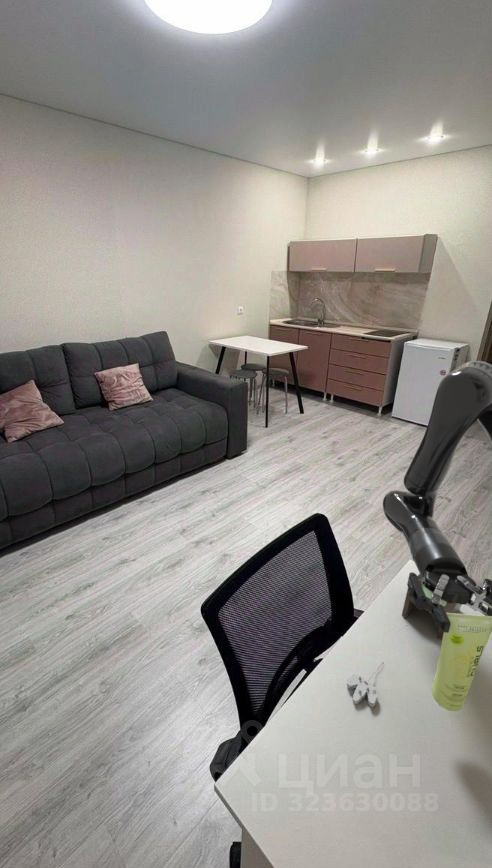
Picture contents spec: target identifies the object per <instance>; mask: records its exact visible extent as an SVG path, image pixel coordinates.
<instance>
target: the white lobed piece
mask: <svg viewBox="0 0 492 868" xmlns="http://www.w3.org/2000/svg"><path fill="white" fill-rule="evenodd" d="M383 664H384V662H383V661H382V662H381V663H380V664H379V666H378V667H377V669H376V671H375V672H373V673H372V674H371V675H370V677H369V678H368V679H366V678H365V677H363V676H361V675H359V674H352V675H351V676H350V677H349V678H348V679H347V680H346V686H347V688H348V689H355V690H354V693H353V695H352V702H353V704H354V705H358V704H360V702H361V701H362V700H364V698H365V697H366V696H367V704H368V706H369V707H375V705H376V702H377V700H378V694H379V693H378V690H377V688H376V687H375V686H374V685H373V684H372V682H370V680H371V678H372V677H373V675H374V674H376V673H377V672H378V671H379V669H380V668H381V666H382V665H383Z"/></svg>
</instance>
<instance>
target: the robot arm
mask: <svg viewBox="0 0 492 868" xmlns="http://www.w3.org/2000/svg"><path fill="white" fill-rule="evenodd" d="M476 421H477V422H478V423H479V425H480V426H481V427H482V429H483V431H484V432H485V433H486V435H487V438H488V440H489V442H490V444H491V445H492V364H491V363H488V362H486V361H482V360H470V361H467V362H464V363H462V364H461V365H459V366H458V367H456V368H455V369H453V370H452V371H451V372H448V374H446V375H445V376H444V377H443V378H442V379H441V380H440V382H439V384H438V386H437V389H436V393H435V396H434V400H433V404H432V409H431V412H430V417H429V420H428V423H427V426H426V429H425V432H424V434H423V437H422V439H421V441H420V443H419V445H418V448H417V449H416V451H415V452H414V453H415V454H414V455H413V458H412V459H411V461H410V464H409V466H408V468H407V470H406V472H405V475H404V476H403V486H404V488H405V489H406V490H407V491H403V490H398V489H397V490H391V491H389V492H387V493H385V495H384V497H383V499H382V510H383V513H384V516H385V518H386V520H387V521H388V522H389V523H390V524H391V525H392V526H393V527H394V529H395V530H396V531H397V532H398V533H399V534H401V536H403V538H404V540H405V542H406V544H407V546H408V548H409V552H410V555H411V558H412V560H413V562H414V564H415V566H416V568H417V570H418V572H419V573H418V574H420V575H421V577H417V576H418V575H417V573H415V572H410V573H409V575H408V579H407V583H406V585H407V589H408V588H409V591H410V593H411V596H412V598H413V601H414V604H415V606H414V607H415V608H416V609H417V610H420V611H423V610H425V609H427V610H428V611H427V610H426V611H427V612H428V613H430V614H431V617H432V619H433V622H434V623H435V625H436V627H437V628H438V629H439V628H441V630H442V632H446V633H448V632H449V629H450V621H449V619H448V617H447V614H446V612H445V610H444V608H443V606H442V604H441V602H442V600H443V601H446V602H447V603H459V604H461V605H465V606H467V607H469V608H470V609H471V610H473V612H479V613H481V614H482V615H483V616H492V579H489V578H484V580H483V581H475V579H473V578H471V576H470V575H469V574H468V571H467V569H466V566H465V564H464V562H463V560H462V559H461V557H460V556H459V555H458V553H457V551H456V550H455V548H454V547H453V544H452V543H451V541H450V540H449V539H448V538H447V537H446V536H445V535H444V533H443V531H442V530H441V528H440V526H439V525H438V523H437V522H436V521H435V520H434V515H435V508H436V501H437V497H438V492H439V489H440V488H441V486H442V484H443V482H444V481H445V479H446V477H447V475H448V473H449V471H450V469H451V467H452V465H453V462H454V458H455V454H456V451H457V449H458V446H459V444H460V442H461V441H462V440H463V438H464V436H465V434H466V433H467V432H468V431H469V430H470V428H472V426H473V425H474V424H475V423H476ZM423 585H424V586H425V588H427V589H428V590H429V591H431V592H432V593H433V595H432V597H431V599H430V598H427V597H426V595H425V593H424V591H423V588H422V586H423ZM473 596H475V598H474V600H473ZM483 604H484V605H483ZM423 608H424V609H423Z"/></svg>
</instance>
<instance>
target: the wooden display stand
mask: <svg viewBox="0 0 492 868" xmlns="http://www.w3.org/2000/svg"><path fill="white" fill-rule="evenodd" d="M417 577H421V575H420V573H418V575H417ZM422 588H423V591H424V593H425V595H426V597H427V598H430V599H431V597H432V595H433V593H432V592H431V591H429V590H428V589H427V588H425V586H424V585H423V586H422ZM441 604H442V606H443V608H444V610H445V612H446V613H456V614H459V612H460V609H461V607H462V604H459V603H447V602H446V601H443V600H442V602H441ZM414 607H416V606H415V604H414V601H413V598H412V596H411V593H410V591H409V588H408V587H407V591H406V594H405V598H404V602H403V608H402V612H401V616H402V617H403V618H407V617H408V615H409V614H410V613H411V611H412V610H413V609H414ZM423 610H425V611H427V612H429V611H428V610H427V609H424V608H423ZM443 634H444V632H442V630H441V628H438V630H437V634H436V638H437V639H438V640H443Z"/></svg>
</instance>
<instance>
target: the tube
mask: <svg viewBox="0 0 492 868" xmlns="http://www.w3.org/2000/svg"><path fill="white" fill-rule="evenodd" d="M446 614H447V617H448V619H449V621H450V629H449V632H448V633H446V632H444V634H443V638H442V639H441V646H440V651H439V656H438V660H437V665H436V669H435V674H434V678H433V682H432V686H431V696H432V697H433V699H434V701H435V702H436V703H437V704H438V705H439V706H440V707H442V708H443V709H445V710H447V711H450V712H458V711H459V712H460V711H461V710H462V709H463V708H464V704H465V701H466V699H467V697H468V693H469V691H470V687H471V686H472V682H473V680H474V677H475V675H476V672H477V669H478V667H479V664H480V661H481V659H482V656H483V653H484V651H485V648H486V647H487V643H488V642H489V639H490V638H491V637H490V636H491V635H492V616H485V615H481V614H480V615H479V614H468V613H467V614H466V613H465V614H464V613H457V614H456V613H446Z"/></svg>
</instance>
